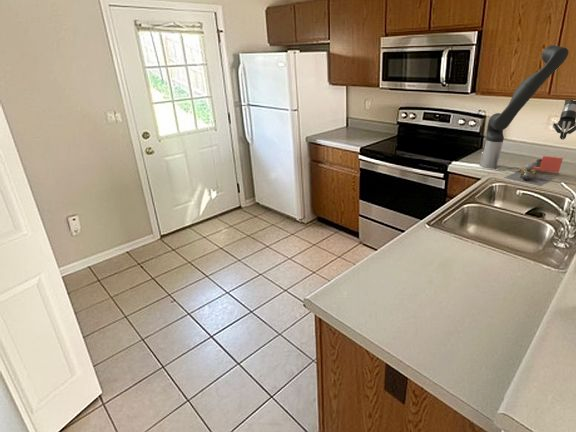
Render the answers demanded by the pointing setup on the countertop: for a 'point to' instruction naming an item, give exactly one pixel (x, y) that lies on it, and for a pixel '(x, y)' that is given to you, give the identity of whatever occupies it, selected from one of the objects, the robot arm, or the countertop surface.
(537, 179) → the mat
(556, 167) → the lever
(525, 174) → the valve body
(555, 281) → the countertop surface
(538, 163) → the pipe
